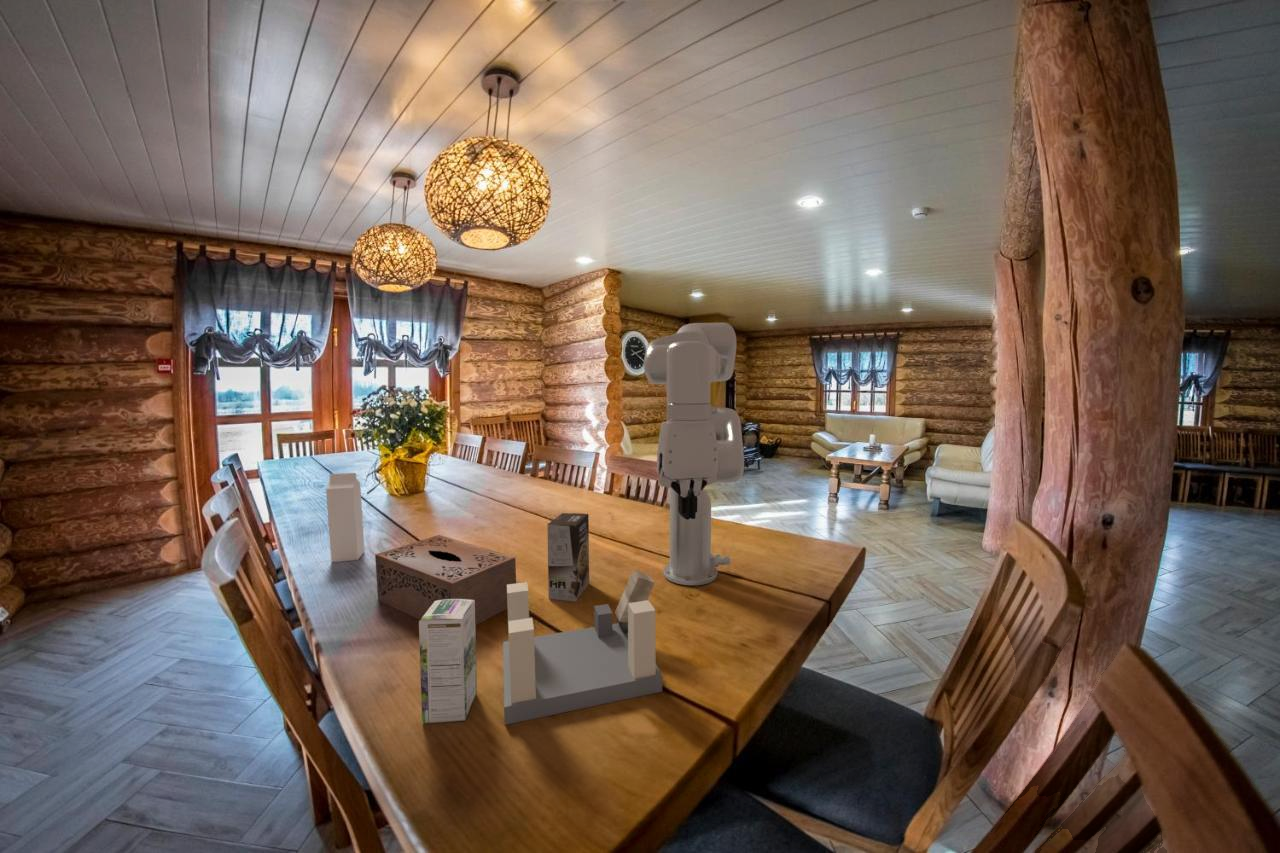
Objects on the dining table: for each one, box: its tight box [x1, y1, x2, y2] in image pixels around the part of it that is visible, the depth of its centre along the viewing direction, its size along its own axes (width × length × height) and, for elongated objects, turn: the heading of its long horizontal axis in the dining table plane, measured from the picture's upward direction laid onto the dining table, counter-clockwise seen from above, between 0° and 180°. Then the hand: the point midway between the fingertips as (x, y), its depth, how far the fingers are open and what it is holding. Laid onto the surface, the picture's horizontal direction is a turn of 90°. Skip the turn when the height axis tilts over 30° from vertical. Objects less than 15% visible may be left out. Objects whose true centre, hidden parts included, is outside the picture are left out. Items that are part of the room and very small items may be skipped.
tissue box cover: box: [374, 534, 517, 626], centre depth 95 cm, size 26×14×10 cm, turn 57°
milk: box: [325, 472, 366, 563], centre depth 118 cm, size 6×6×22 cm
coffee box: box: [547, 512, 590, 603], centre depth 99 cm, size 9×6×16 cm
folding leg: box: [614, 569, 655, 633], centre depth 80 cm, size 3×4×10 cm
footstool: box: [502, 581, 663, 726], centre depth 71 cm, size 22×16×12 cm
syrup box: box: [418, 599, 478, 724], centre depth 63 cm, size 6×6×14 cm
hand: (687, 517), depth 82 cm, fingers closed
